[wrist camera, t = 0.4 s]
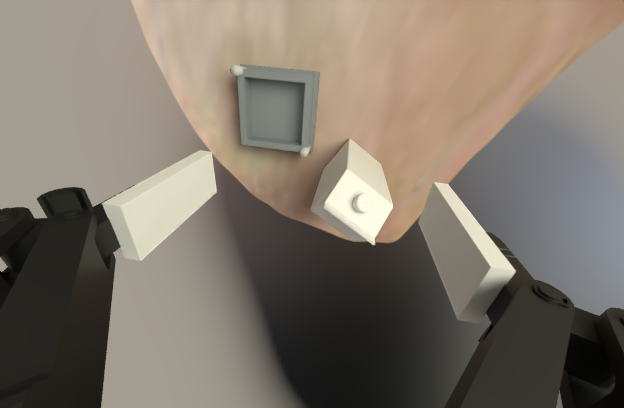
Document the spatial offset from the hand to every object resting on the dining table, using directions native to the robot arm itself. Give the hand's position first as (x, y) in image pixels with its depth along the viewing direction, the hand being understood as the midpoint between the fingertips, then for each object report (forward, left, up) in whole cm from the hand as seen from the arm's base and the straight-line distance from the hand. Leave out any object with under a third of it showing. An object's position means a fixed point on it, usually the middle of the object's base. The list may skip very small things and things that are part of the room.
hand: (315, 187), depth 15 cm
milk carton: (+8, +3, -28) cm, 29 cm away
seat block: (0, -10, -28) cm, 29 cm away
